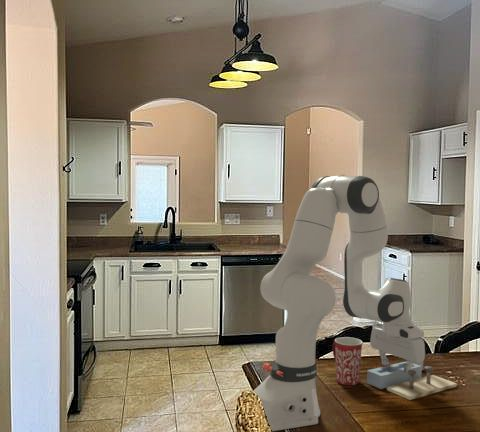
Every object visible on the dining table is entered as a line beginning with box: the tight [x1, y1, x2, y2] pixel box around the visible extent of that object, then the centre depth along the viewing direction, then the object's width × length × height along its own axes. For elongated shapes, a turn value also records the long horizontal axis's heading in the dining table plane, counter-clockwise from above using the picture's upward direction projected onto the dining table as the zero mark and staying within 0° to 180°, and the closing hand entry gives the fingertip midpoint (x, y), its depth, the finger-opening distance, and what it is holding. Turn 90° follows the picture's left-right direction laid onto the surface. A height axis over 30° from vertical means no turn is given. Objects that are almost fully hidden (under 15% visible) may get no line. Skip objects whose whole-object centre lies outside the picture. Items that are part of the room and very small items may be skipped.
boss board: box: [386, 365, 458, 401], centre depth 160 cm, size 22×9×6 cm, turn 121°
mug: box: [332, 336, 364, 386], centre depth 167 cm, size 13×9×14 cm
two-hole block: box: [366, 361, 423, 390], centre depth 167 cm, size 19×6×4 cm, turn 121°
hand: (395, 368), depth 167 cm, fingers open, 8 cm apart
